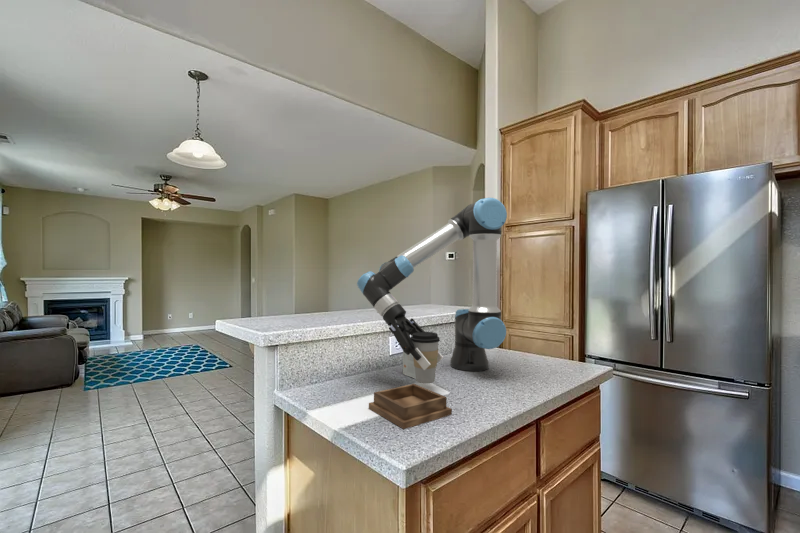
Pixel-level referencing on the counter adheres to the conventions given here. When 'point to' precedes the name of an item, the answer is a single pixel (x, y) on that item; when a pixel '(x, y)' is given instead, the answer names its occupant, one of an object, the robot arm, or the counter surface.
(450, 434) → the counter surface
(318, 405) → the counter surface
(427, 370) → the coffee cup
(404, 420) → the wooden tray
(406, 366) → the small box
